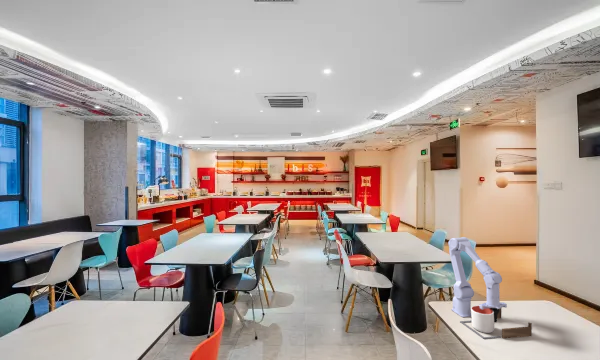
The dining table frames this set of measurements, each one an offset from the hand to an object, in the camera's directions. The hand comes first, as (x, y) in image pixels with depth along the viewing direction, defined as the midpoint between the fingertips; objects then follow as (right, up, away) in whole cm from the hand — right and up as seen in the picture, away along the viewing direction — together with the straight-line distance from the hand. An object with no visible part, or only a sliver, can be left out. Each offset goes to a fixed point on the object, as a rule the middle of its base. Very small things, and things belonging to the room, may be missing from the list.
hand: (493, 321), depth 151 cm
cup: (-6, -4, 0) cm, 7 cm away
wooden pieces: (+5, -4, +1) cm, 7 cm away
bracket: (-8, -4, -1) cm, 9 cm away
